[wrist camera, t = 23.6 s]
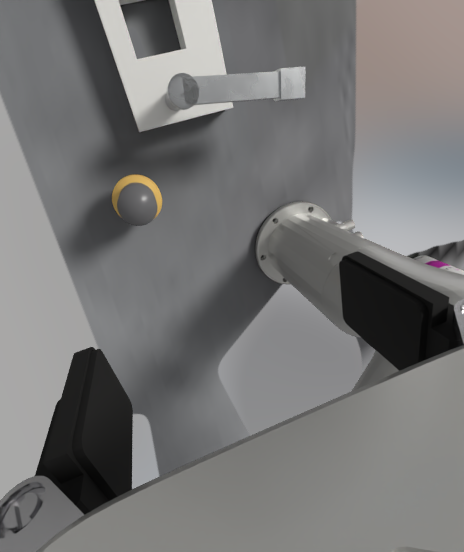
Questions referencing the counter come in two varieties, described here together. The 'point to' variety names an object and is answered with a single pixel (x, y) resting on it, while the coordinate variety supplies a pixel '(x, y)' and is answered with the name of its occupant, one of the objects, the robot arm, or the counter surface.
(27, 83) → the counter surface
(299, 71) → the clip
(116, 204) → the plug
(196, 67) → the socket block
